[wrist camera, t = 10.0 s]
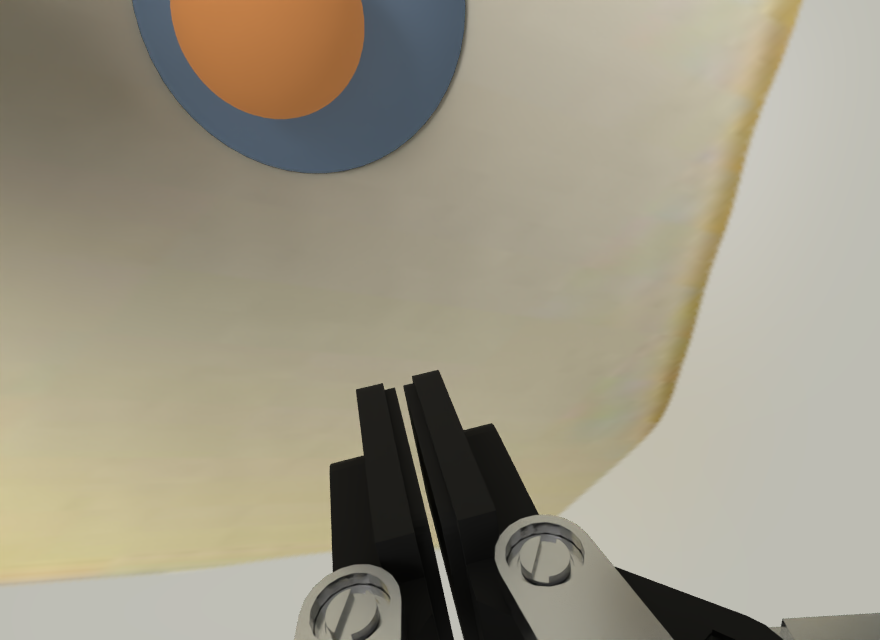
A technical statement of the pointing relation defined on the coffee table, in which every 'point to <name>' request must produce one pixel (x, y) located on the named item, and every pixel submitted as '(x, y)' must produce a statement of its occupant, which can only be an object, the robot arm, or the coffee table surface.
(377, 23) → the disc
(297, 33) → the ball
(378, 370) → the coffee table surface
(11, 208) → the coffee table surface
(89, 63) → the coffee table surface
